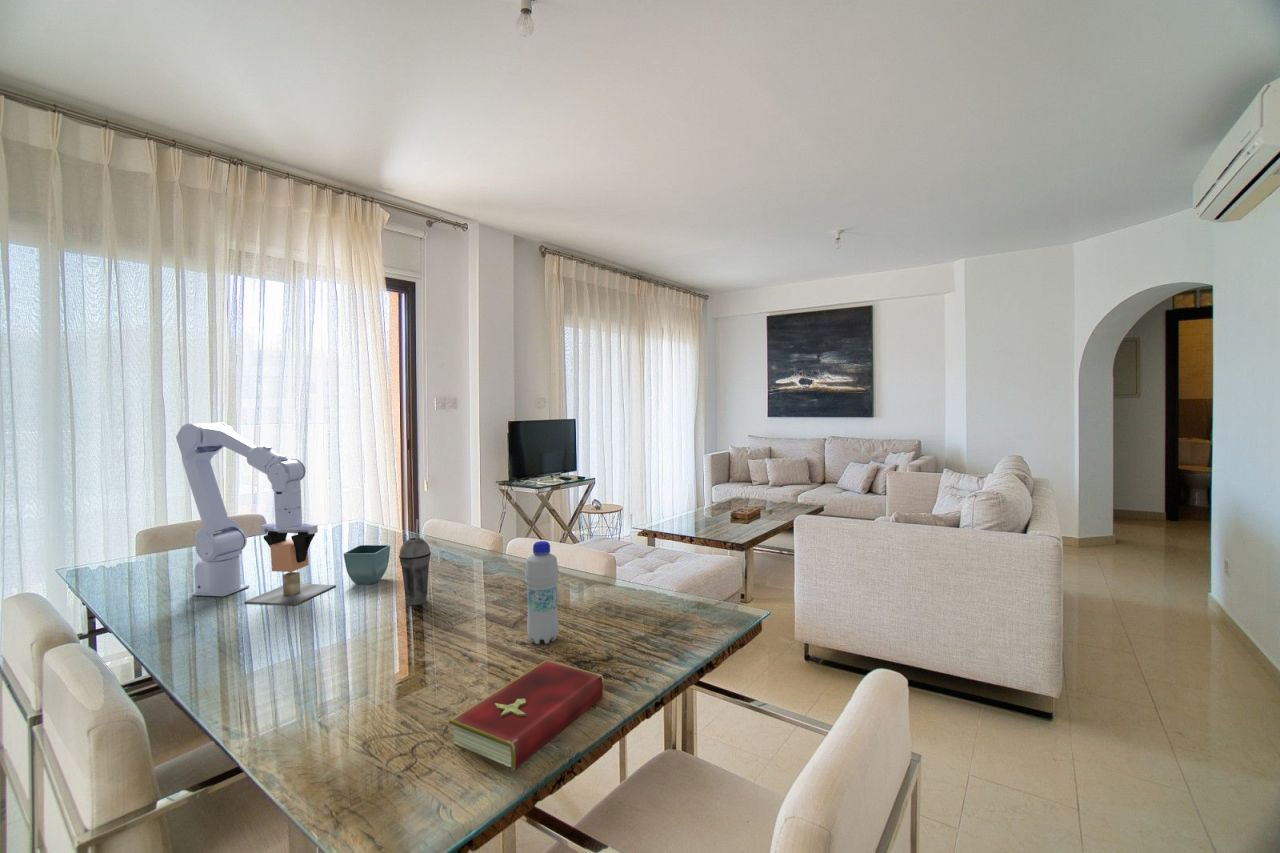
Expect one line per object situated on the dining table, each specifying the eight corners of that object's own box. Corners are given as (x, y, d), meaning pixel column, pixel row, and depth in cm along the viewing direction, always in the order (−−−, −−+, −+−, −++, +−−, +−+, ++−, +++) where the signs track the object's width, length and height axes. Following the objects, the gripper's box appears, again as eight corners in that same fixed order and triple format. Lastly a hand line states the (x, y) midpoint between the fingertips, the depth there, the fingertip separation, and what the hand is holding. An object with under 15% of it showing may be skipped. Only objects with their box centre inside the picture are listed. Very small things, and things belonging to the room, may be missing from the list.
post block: (244, 603, 137) (243, 581, 137) (289, 584, 151) (288, 564, 150) (295, 605, 134) (294, 583, 134) (335, 586, 148) (335, 566, 148)
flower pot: (376, 586, 148) (375, 553, 147) (343, 587, 148) (342, 553, 148) (392, 576, 156) (391, 544, 156) (360, 576, 157) (359, 544, 156)
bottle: (565, 635, 115) (563, 538, 114) (550, 648, 109) (547, 546, 108) (537, 631, 117) (534, 536, 116) (519, 644, 111) (517, 544, 110)
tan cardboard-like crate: (271, 571, 140) (270, 545, 139) (289, 564, 145) (287, 539, 145) (291, 572, 139) (290, 545, 138) (308, 565, 144) (307, 539, 144)
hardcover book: (604, 699, 91) (604, 673, 90) (514, 775, 72) (513, 743, 72) (547, 681, 97) (546, 657, 96) (450, 747, 79) (449, 718, 78)
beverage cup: (393, 605, 134) (390, 522, 133) (416, 595, 141) (413, 516, 140) (417, 608, 131) (414, 524, 130) (439, 598, 138) (436, 518, 137)
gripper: (249, 510, 139) (252, 564, 139) (301, 511, 136) (304, 566, 137) (272, 505, 146) (275, 557, 146) (322, 506, 143) (324, 558, 144)
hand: (290, 561), depth 142 cm, fingers closed on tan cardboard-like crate, 6 cm apart
